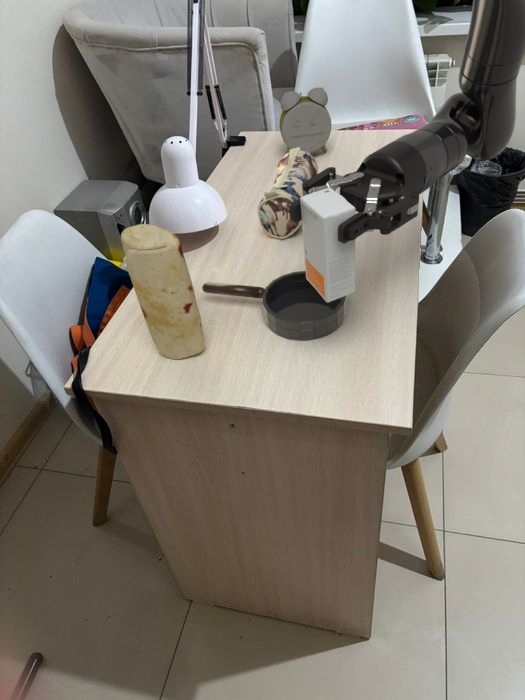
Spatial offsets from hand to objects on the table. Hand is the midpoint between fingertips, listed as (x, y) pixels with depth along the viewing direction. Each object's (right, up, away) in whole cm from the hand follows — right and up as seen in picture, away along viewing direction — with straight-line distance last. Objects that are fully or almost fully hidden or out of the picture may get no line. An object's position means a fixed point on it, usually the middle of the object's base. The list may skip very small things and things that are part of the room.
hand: (315, 224), depth 58 cm
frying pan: (+1, -8, +22) cm, 24 cm away
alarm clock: (+5, +32, +65) cm, 72 cm away
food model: (-19, -14, +20) cm, 31 cm away
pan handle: (-11, -5, +24) cm, 27 cm away
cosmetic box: (+3, -6, +8) cm, 10 cm away
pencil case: (0, +14, +46) cm, 48 cm away
